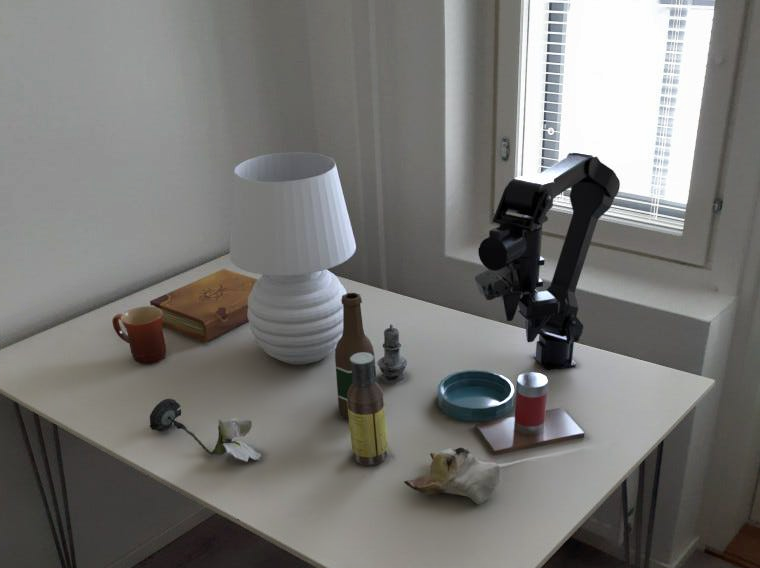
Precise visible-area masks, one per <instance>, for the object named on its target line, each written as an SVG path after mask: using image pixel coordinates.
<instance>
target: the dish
mask: <svg viewBox="0 0 760 568" xmlns="http://www.w3.org/2000/svg"><path fill="white" fill-rule="evenodd" d="M515 393H516V390H515V387H514V384H513V382H511V380H510V379H509V378H507V377H505V376H504V375H502V374H499V373H497V372H493V371H490V370H482V369H467V370H466V369H465V370H462V371H456V372H453V373H451V374H449V375H447V376H445V377H444V378H443V379H441V380H440V382H439V384H438V385H437V405H438V407H439V408H440V410H441V412H443V413H444V414H446V415H447V416H449V417H451V418H454V419H456V420H459V421H465V422H472V423H484V422H489V421H494V420H499V419H501V418H502V417H505V416H506V415H507V414H509V413H510V412H511V411H512V410H513V407H514V406H515Z"/></svg>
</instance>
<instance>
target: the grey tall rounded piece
mask: <svg viewBox="0 0 760 568" xmlns="http://www.w3.org/2000/svg"><path fill="white" fill-rule="evenodd" d="M383 338H384V339H383V340H384V342H383V344H382V348H383V351H384V354H383V356H382V357H381V358H379V359H378V361H377V366H378V368H379V370H380V372H381V373H382V374H381V380H382V381H383V382H385V383H389V384H390V383H391V384H392V383H398V382H401V381H403V380H404V379H405V374H404V371H405V369H406V366H407V365H408V360H407V359H406V358H405V357H404V356H401V352H400V351H401V350H400V349H401V347H402V344H401V343H400V333H399V330H398V329H397V328H396V327H394V325H392V324H390V325H389V326H388V328H385V329H384V332H383Z"/></svg>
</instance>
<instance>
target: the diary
mask: <svg viewBox="0 0 760 568" xmlns="http://www.w3.org/2000/svg"><path fill="white" fill-rule="evenodd" d="M258 279H259V278H254V277H252V276H248V275H245V274H241V273H239V272H235V271H232V270H229V269H225V268H222V269H220V270H218V271H215V272H213V273H211V274H209V275H206V276H204V277H202V278H199V279H197V280H195V281H193V282H190V283H188V284H186V285H184V286H181V287H178V288H176V289H174V290H172V291H170V292H167V293H165V294H163V295H161V296H159V297H156V298H154V299H151V300H150V301H149V304H150V306H152V307H157V308H159V309H161V310H162V311H163V317H162V328H166V329H168V330H171V331H173V332H176V333H178V334H181V335H184V336H186V337H188V338H191V339H193V340H196V341H199V342H202V343H204V344H207V343H209V342H211V341H213V340H215V339H217V338H219V337H221V336H223V335H225V334H227V333H229V332H231V331H233V330H235V329H237V328H238V327H239V328H240V326H243V325H245V324H247V323H249V320H248V316H247V312H248V297H249V295H250V293H251V291H252V289H253V287H254V284H255V282H256V281H257V280H258Z"/></svg>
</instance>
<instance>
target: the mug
mask: <svg viewBox="0 0 760 568" xmlns="http://www.w3.org/2000/svg"><path fill="white" fill-rule="evenodd" d="M162 317H163V311H162V310H161V309H159V308H157V307H155V306H152V305H149V306H148V305H147V306H138V307H134V308H130V309H128V310H126V311H124V313H118V314H115V315H114V316H113V317H112V326H113V329H114V331H115V334H117V336H118V337H119V338H120V339H121V340H122V341H124V342H125V343H127V344H128V345H129V350H130V353H131V357H132V358H133V360H134V361H135V362H136V363H137V364H141V365H153V364H157V363H159V362H161V361H162V360H164V358H165V357H166V356H167V343H166V340H165V334H164V331H163V326H162ZM119 320H120V321H121V323H122V325H123V328H125V330H126V332H127V334H126V333H125V332H124V331H123V329H122V327H121V325H120V321H119Z"/></svg>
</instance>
